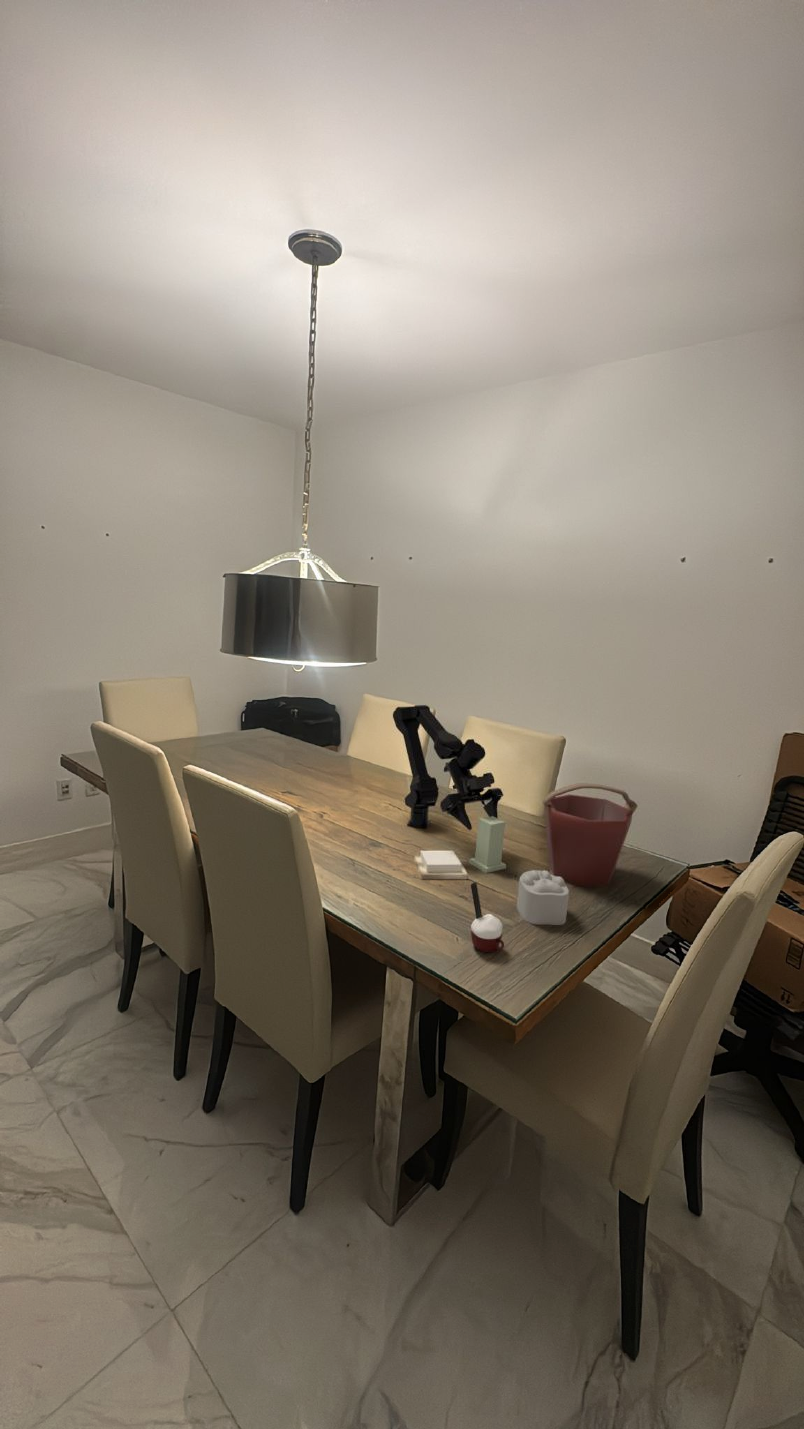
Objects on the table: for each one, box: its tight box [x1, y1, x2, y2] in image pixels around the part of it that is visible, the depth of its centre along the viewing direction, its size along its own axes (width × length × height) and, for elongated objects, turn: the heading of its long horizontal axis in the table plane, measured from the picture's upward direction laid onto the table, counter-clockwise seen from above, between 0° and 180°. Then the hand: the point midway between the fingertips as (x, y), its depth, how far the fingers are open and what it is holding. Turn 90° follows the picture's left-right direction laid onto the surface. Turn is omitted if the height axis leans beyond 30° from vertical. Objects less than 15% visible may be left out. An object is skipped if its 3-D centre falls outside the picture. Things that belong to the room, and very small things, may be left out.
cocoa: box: [470, 881, 505, 953], centre depth 123 cm, size 10×6×12 cm, turn 18°
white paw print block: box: [516, 869, 570, 926], centre depth 141 cm, size 10×13×9 cm
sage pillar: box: [469, 816, 507, 874], centre depth 163 cm, size 7×7×13 cm
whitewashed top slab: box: [420, 850, 462, 872], centre depth 160 cm, size 9×9×2 cm
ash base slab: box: [413, 854, 469, 880], centre depth 160 cm, size 12×12×2 cm
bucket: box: [542, 782, 638, 888], centre depth 161 cm, size 24×22×25 cm
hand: (484, 827), depth 165 cm, fingers open, 9 cm apart
